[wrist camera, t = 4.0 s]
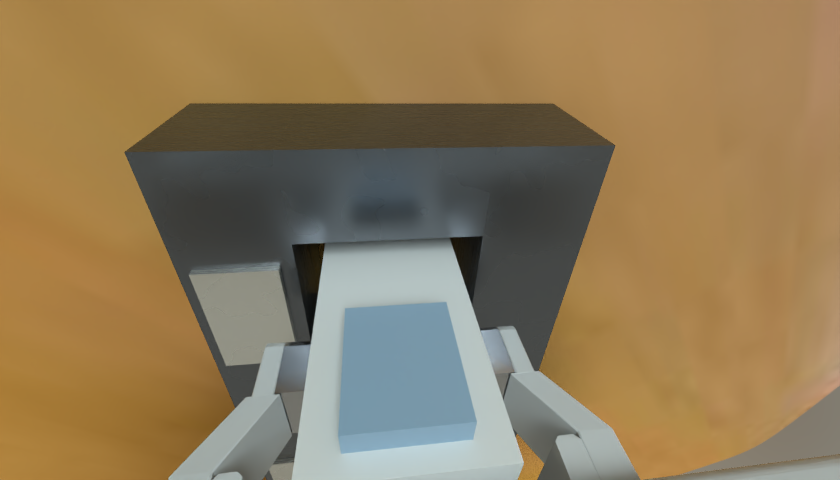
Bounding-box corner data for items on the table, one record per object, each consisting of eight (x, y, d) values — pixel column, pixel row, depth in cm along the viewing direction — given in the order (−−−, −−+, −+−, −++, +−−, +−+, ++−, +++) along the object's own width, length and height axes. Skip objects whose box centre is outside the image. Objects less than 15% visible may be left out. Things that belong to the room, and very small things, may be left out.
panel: (297, 453, 24) (286, 530, 21) (190, 103, 12) (120, 155, 8) (477, 433, 26) (495, 503, 22) (553, 103, 13) (619, 148, 10)
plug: (340, 278, 17) (319, 569, 8) (329, 183, 14) (283, 473, 6) (430, 273, 17) (492, 544, 9) (436, 181, 14) (530, 445, 6)
